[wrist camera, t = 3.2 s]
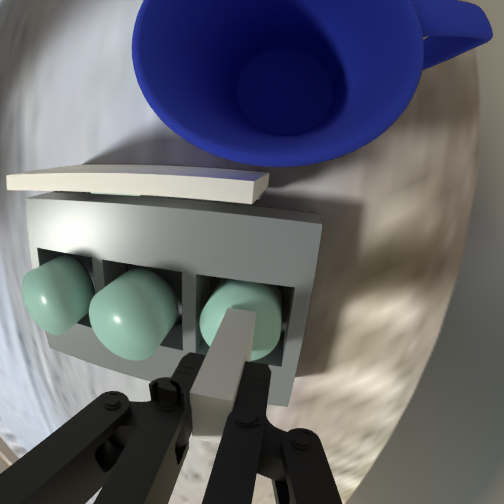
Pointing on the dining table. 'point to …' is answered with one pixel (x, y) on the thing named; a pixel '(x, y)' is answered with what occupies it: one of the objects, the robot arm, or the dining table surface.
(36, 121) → the dining table surface
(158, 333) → the button middle
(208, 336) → the button right
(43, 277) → the button left
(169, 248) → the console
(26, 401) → the dining table surface
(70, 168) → the pattern card
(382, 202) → the dining table surface
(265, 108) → the mug
